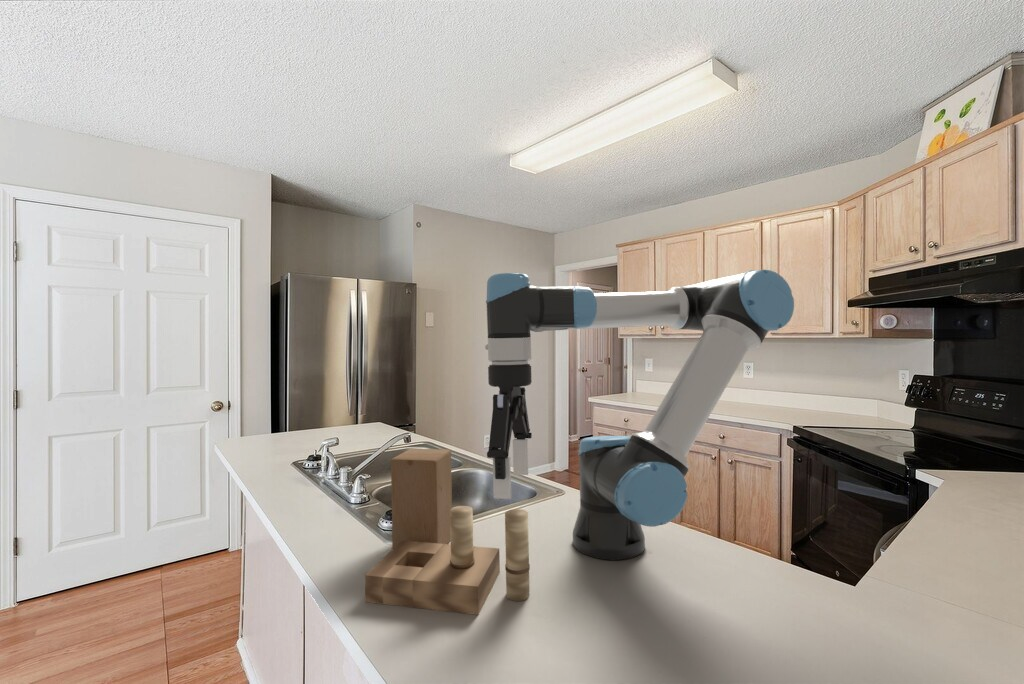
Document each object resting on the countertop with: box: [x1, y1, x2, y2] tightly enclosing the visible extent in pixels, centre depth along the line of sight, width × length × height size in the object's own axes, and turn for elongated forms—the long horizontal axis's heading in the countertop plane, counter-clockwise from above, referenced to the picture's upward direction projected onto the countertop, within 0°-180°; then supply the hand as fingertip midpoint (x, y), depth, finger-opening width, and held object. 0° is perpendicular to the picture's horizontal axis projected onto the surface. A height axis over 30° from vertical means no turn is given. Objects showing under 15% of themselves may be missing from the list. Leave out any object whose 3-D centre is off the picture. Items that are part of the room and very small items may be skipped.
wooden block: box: [390, 448, 453, 551], centre depth 99 cm, size 10×10×20 cm
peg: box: [504, 508, 531, 602], centre depth 79 cm, size 4×4×14 cm
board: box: [364, 505, 501, 616], centre depth 82 cm, size 20×14×14 cm
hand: (512, 485), depth 79 cm, fingers open, 13 cm apart
